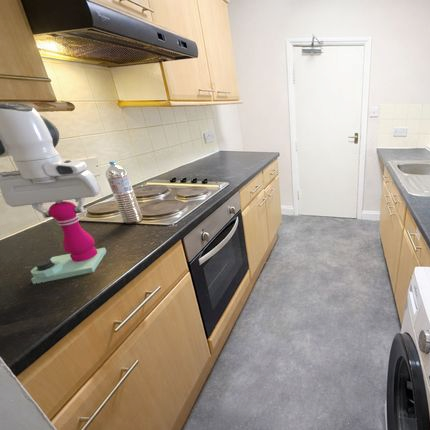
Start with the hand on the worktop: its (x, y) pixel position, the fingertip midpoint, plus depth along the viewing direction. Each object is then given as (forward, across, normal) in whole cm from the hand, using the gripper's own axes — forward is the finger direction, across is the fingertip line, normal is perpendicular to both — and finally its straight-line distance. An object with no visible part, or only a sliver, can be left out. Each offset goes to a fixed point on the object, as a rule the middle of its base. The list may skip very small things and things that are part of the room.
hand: (65, 214), depth 77 cm
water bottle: (+17, +7, +28) cm, 33 cm away
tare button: (+13, -7, -5) cm, 16 cm away
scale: (+16, -3, -2) cm, 17 cm away
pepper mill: (+15, 0, 0) cm, 15 cm away
